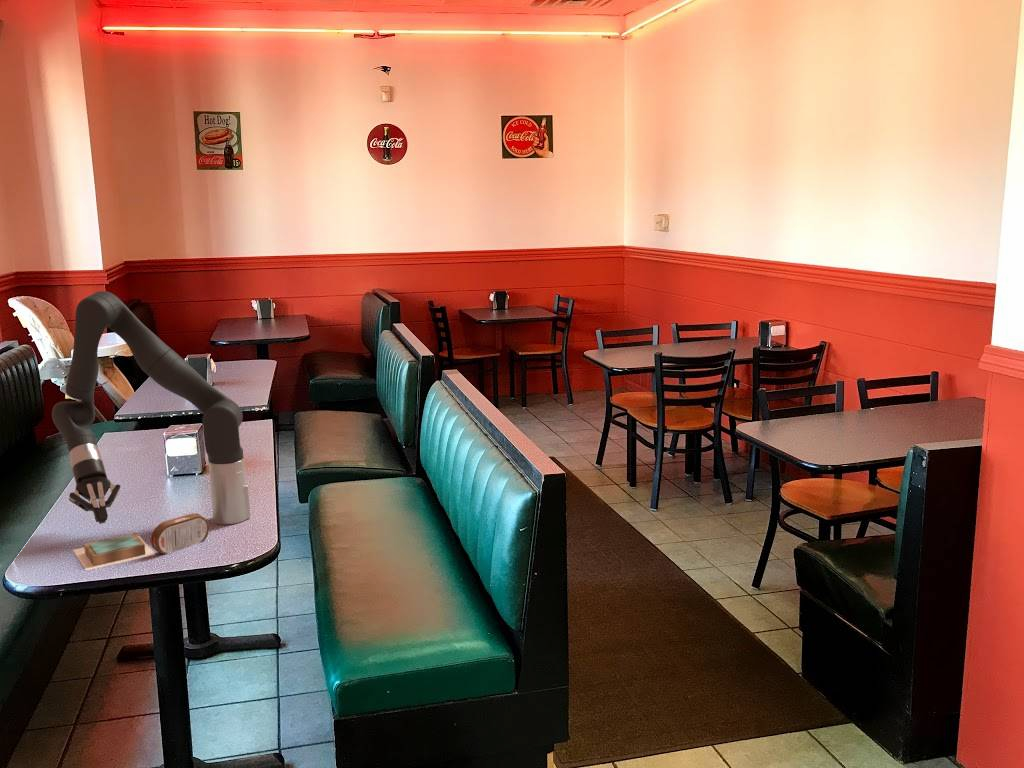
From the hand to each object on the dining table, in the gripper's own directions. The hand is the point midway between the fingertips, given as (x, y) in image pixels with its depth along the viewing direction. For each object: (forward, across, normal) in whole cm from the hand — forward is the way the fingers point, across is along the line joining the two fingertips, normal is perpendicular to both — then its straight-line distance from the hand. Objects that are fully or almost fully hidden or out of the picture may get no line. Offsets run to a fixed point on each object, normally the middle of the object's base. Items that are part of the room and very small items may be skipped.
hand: (102, 521), depth 229 cm
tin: (+16, +15, -7) cm, 23 cm away
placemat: (+11, 0, -2) cm, 11 cm away
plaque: (+7, 0, -1) cm, 7 cm away
